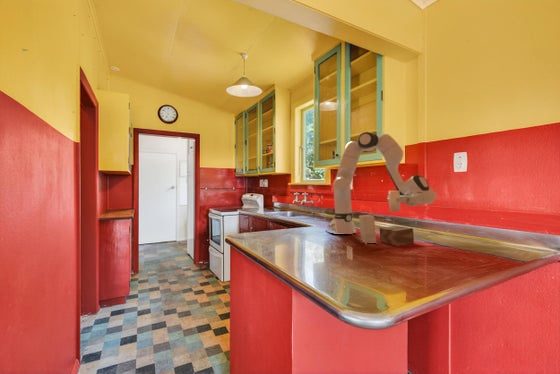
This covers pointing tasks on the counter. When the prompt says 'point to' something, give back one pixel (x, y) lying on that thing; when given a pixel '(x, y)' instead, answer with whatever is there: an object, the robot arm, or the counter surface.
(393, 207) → the cream canister
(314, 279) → the counter surface
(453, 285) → the counter surface
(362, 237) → the skincare box
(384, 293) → the counter surface
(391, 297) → the counter surface
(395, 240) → the walnut base
